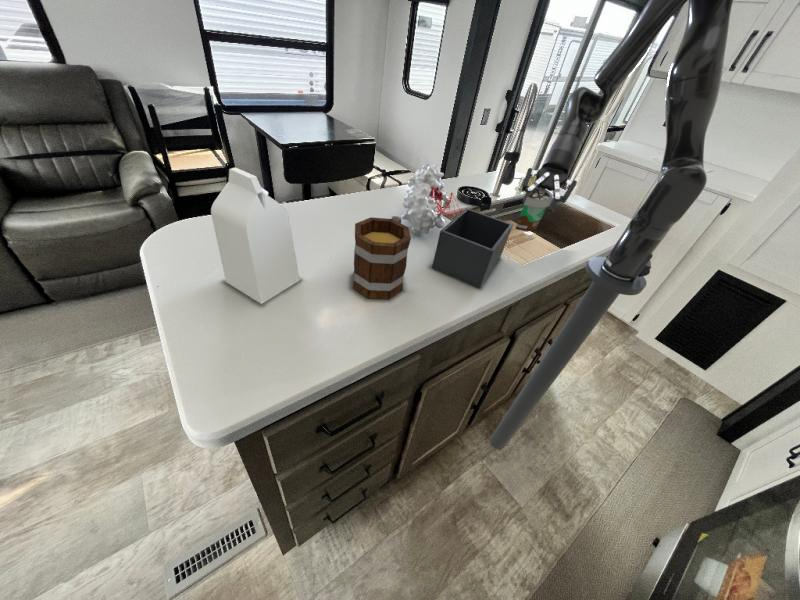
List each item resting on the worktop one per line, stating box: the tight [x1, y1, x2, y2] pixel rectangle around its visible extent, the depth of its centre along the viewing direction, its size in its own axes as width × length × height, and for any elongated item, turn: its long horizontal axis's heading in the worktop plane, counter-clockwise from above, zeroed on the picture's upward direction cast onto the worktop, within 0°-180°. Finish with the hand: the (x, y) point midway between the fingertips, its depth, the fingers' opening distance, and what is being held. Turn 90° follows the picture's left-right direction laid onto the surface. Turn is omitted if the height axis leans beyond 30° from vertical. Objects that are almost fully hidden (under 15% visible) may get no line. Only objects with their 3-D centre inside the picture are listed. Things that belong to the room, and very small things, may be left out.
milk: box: [210, 167, 301, 305], centre depth 69 cm, size 12×12×26 cm
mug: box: [352, 215, 412, 300], centre depth 80 cm, size 20×14×15 cm
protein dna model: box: [400, 162, 463, 236], centre depth 106 cm, size 20×18×25 cm
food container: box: [515, 187, 553, 232], centre depth 93 cm, size 12×6×10 cm, turn 148°
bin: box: [431, 207, 514, 289], centre depth 91 cm, size 15×19×12 cm
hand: (536, 208), depth 91 cm, fingers closed on food container, 6 cm apart
